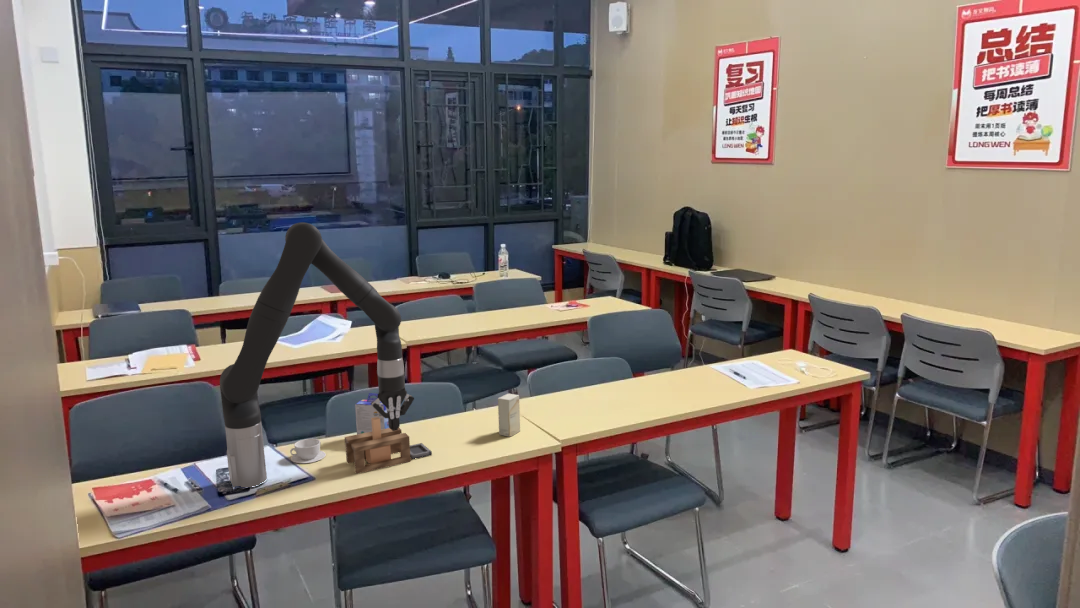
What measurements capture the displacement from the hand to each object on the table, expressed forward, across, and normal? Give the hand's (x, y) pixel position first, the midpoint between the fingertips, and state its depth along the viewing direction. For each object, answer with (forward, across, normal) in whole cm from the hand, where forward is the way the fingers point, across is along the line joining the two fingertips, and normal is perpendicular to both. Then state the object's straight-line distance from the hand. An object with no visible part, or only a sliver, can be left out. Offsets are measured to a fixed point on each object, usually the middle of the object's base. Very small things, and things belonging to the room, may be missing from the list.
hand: (394, 429), depth 225 cm
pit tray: (+9, +7, 0) cm, 11 cm away
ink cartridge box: (+9, 0, +18) cm, 21 cm away
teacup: (+9, -22, +15) cm, 28 cm away
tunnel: (+9, -5, 0) cm, 10 cm away
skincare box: (+9, +38, 0) cm, 39 cm away
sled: (+9, -5, 0) cm, 10 cm away
